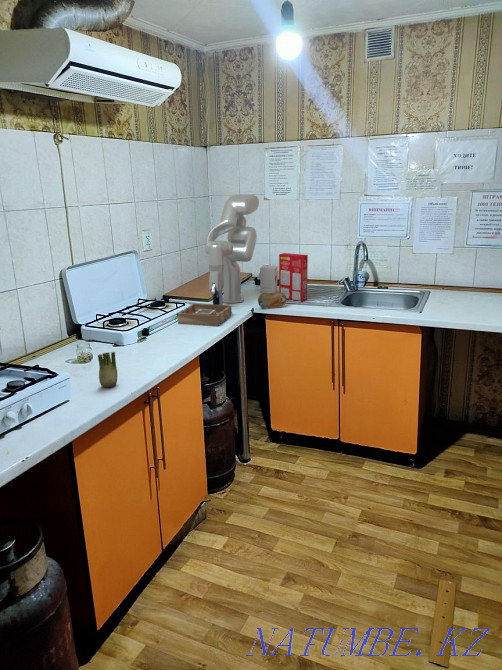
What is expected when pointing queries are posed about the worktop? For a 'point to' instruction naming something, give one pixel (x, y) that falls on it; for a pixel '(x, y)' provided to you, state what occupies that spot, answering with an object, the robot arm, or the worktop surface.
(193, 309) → the walled box
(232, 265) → the robot arm
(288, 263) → the food packaging
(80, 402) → the worktop surface
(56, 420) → the worktop surface
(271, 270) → the supplement box
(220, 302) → the connector
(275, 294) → the brown snack packet
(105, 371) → the fennel bulb
